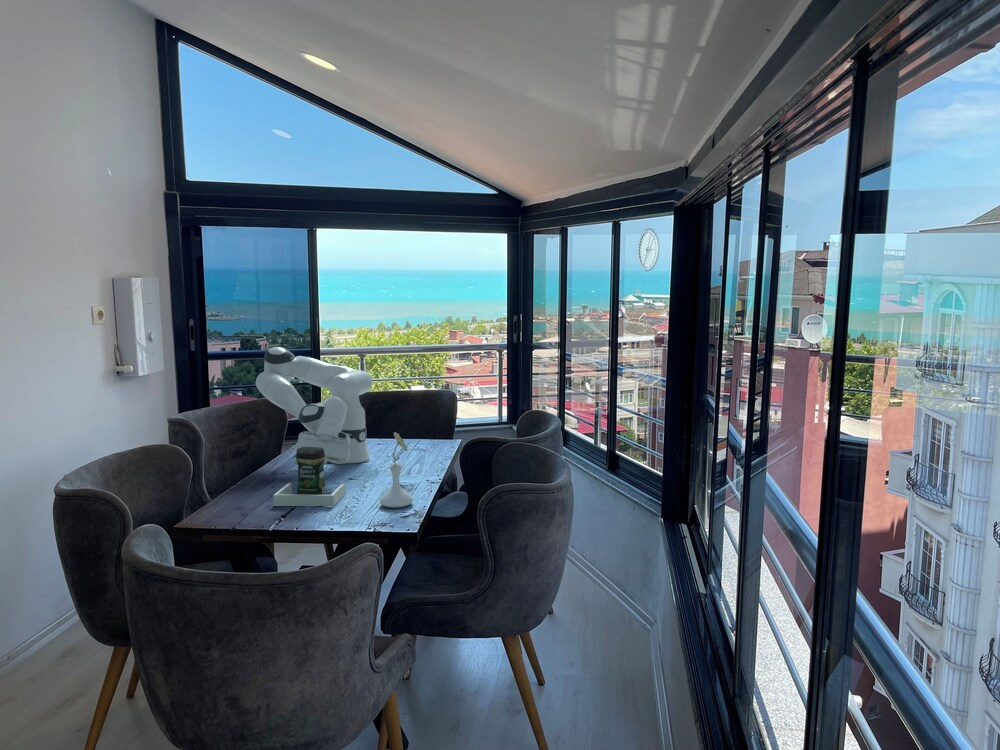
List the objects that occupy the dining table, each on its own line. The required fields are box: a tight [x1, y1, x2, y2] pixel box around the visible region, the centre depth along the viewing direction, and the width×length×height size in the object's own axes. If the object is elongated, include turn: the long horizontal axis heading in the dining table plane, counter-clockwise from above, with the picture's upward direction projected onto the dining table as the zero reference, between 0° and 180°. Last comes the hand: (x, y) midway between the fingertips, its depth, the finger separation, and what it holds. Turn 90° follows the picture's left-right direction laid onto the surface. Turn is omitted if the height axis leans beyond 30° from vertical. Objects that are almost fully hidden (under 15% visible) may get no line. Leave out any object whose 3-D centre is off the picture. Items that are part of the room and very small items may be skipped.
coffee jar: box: [295, 447, 327, 495], centre depth 231 cm, size 10×8×19 cm
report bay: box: [272, 482, 346, 508], centre depth 229 cm, size 14×20×4 cm
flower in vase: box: [379, 431, 414, 509], centre depth 223 cm, size 13×11×25 cm
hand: (317, 467), depth 244 cm, fingers closed
